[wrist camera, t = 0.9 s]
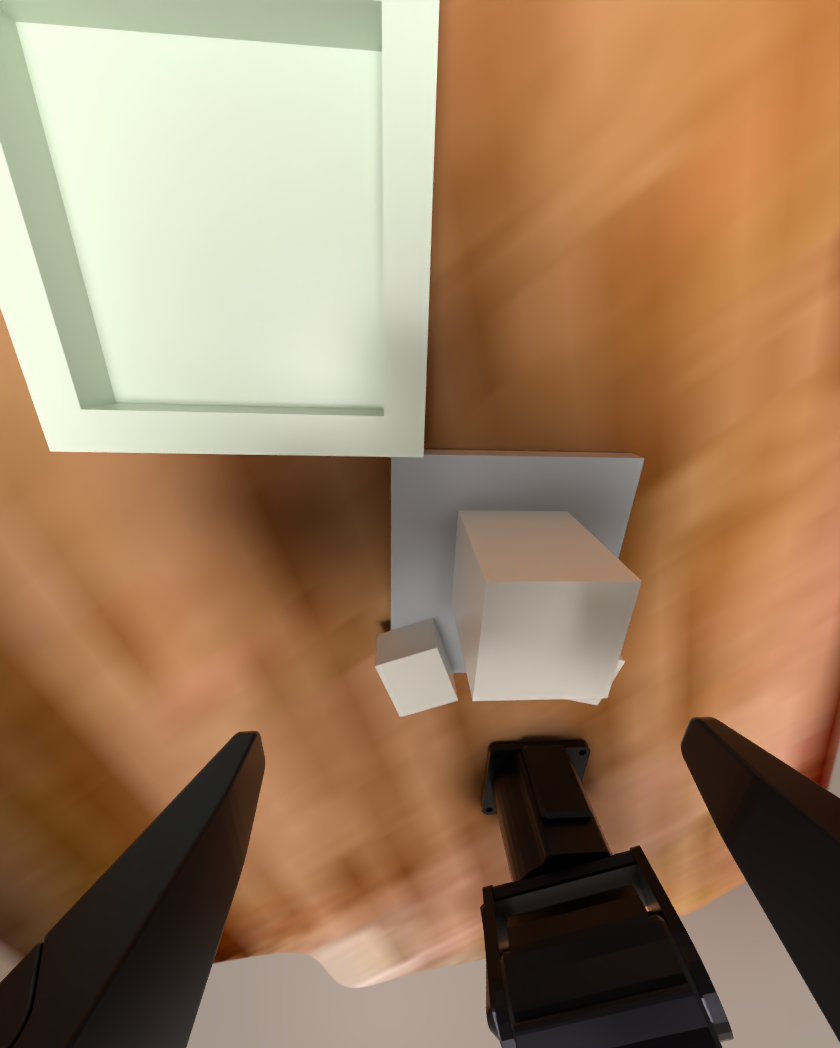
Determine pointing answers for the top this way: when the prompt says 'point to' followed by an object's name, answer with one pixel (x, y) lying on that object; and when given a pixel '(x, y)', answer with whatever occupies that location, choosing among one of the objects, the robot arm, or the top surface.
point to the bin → (220, 222)
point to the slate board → (430, 539)
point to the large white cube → (538, 606)
